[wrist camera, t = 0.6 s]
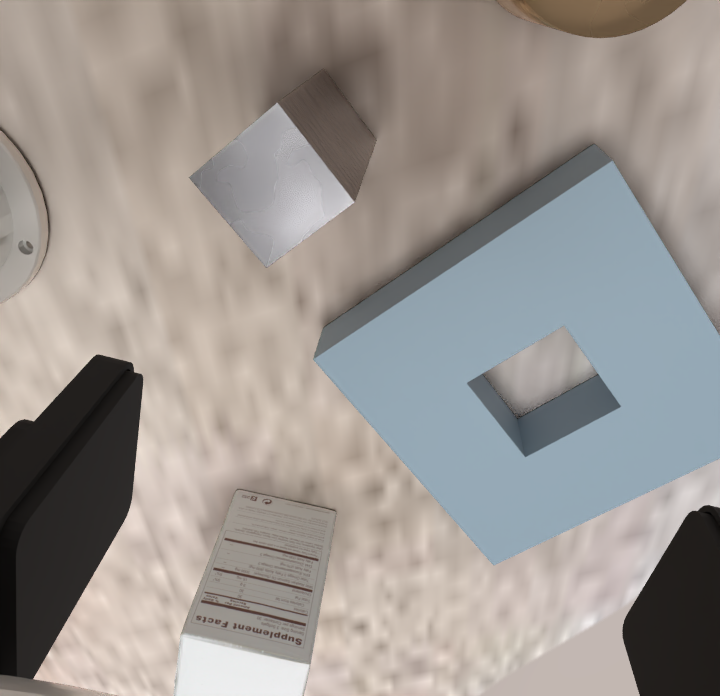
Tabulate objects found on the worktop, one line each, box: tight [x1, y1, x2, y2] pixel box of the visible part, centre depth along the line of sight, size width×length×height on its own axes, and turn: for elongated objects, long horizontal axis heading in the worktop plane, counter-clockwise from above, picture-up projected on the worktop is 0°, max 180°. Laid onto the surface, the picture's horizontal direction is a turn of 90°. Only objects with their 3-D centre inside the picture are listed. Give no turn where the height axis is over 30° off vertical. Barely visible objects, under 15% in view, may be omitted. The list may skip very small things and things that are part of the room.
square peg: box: [189, 69, 377, 268], centre depth 31 cm, size 4×4×12 cm
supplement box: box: [174, 490, 336, 696], centre depth 44 cm, size 7×7×13 cm
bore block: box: [313, 144, 720, 565], centre depth 39 cm, size 18×18×4 cm
